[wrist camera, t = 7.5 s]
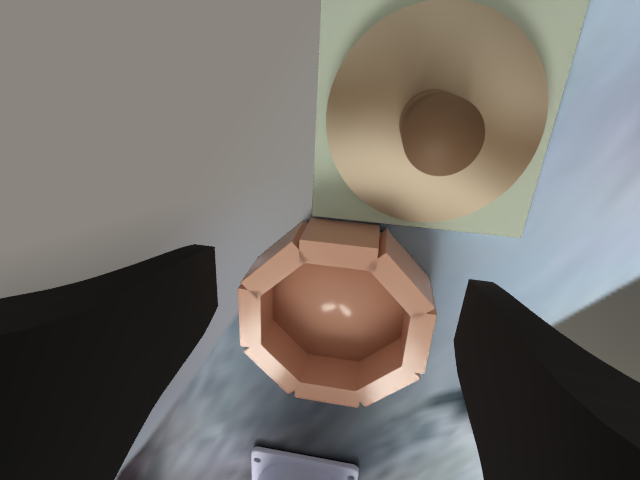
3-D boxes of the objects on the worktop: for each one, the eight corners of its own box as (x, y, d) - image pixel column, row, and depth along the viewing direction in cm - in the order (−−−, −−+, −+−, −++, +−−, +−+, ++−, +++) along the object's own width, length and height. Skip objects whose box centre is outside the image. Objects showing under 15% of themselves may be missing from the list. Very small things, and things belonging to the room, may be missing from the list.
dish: (412, 378, 24) (415, 417, 21) (257, 354, 25) (242, 388, 23) (441, 231, 20) (449, 256, 17) (254, 211, 21) (235, 232, 19)
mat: (518, 235, 19) (520, 237, 19) (313, 213, 21) (311, 215, 20) (588, -12, 15) (593, -14, 15) (323, -19, 16) (322, -21, 16)
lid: (510, 228, 19) (542, 271, 15) (321, 207, 20) (305, 241, 16) (574, 6, 15) (641, -14, 11) (336, -5, 16) (320, -28, 12)
